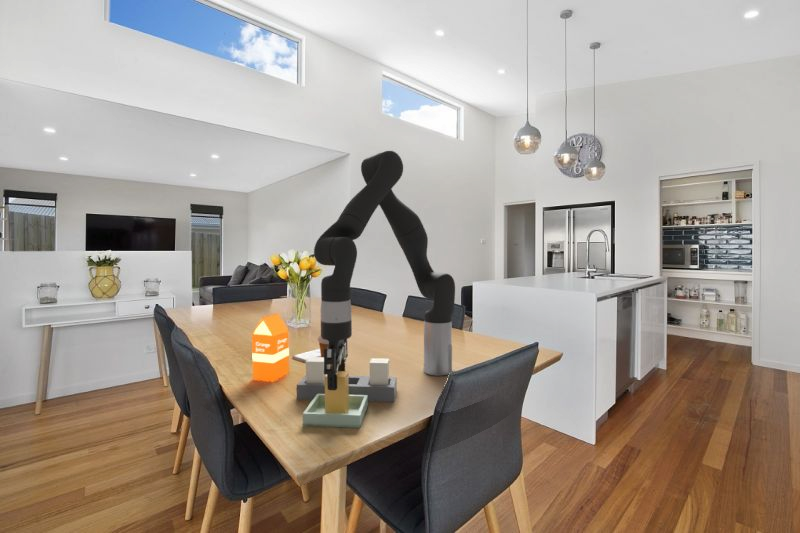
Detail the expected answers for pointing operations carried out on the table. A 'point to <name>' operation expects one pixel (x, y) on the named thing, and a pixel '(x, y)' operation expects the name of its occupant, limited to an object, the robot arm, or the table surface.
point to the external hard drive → (307, 355)
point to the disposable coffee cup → (323, 346)
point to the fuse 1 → (315, 370)
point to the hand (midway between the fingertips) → (336, 382)
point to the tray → (352, 419)
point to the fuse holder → (352, 389)
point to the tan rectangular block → (338, 394)
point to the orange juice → (270, 349)
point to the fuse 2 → (379, 371)
